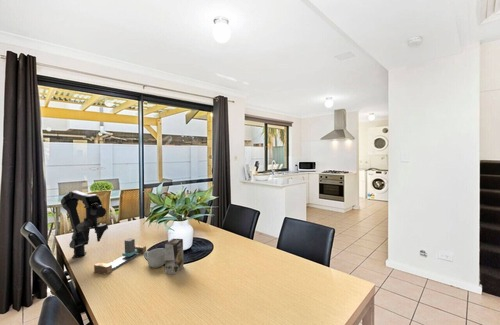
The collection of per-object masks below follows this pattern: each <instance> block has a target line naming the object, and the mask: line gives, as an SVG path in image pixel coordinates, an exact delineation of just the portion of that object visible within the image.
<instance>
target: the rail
mask: <svg viewBox="0 0 500 325" xmlns="http://www.w3.org/2000/svg"><path fill="white" fill-rule="evenodd" d="M135 249H136V250H137V253H135V254H133V255H131V256H130V257H127V256H120V257H118V258H117V259H114V260H113V261H111V262H109V263H105V262H97V263H95V264H93V265H94V266H93V269H94V270H93V272H94V273H95V274H97V273H98V274H103V275H109V274H110V273H113V271H114V270H116V269H118V268H120V267H121V266H123V265H124V264H126V263H129V261H132V260H133V259H135V258H137V257H139V256H141V255H144V252H146V251H147V246H146V245H140V244H135Z"/></svg>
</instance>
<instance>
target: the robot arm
mask: <svg viewBox="0 0 500 325" xmlns="http://www.w3.org/2000/svg"><path fill="white" fill-rule="evenodd" d="M79 201H81V203H82V204H83V205H84V207H83V209H84V208H85V217H84V218H83V221H81V220H80V216H79V213H78V210H77V208H78V206H79ZM60 205H61V206H62V209H64V210H65V211H67V214H68V218H69V221H70V225H71V227H72V228H71V229H72V235H71V240H70V242H69V248H70V249H73V255H72V256H71V258H72V259H73V258H81V257H85V256H86V255H87V251H86V249H85V248H86V247H85V246H86V245H89V241H90V230H91V229H92V230H93V229H94V233H95V234H96V241H97V243H98V242H100V241H101V239H102V237H103V235H104V233H105V231H107V230H108V229H109V225H108V224H106V223H101V224H100V222H98V219H99V218H103V217H104V216H106V214H107V209H106V208H105V207H104V206H103V203H102V200H101V199H100V198H99V195H98V194H96V193H91V194H90V193H86V192H82V191H80V190H71V191H69V192H68V193H67V194H65V195H64V196H62V198H61V199H60Z"/></svg>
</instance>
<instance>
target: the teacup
mask: <svg viewBox="0 0 500 325" xmlns="http://www.w3.org/2000/svg"><path fill="white" fill-rule="evenodd" d="M143 257H144V259H146V261H147V264H148V266H149V267H151V268H153V269H155V268H161V267H162V266H163V265H164V266H165V247H164V248H162V247H161V248H159V247H157V248H154V249H151V250H149V251H148V250H146V252H144V254H143Z"/></svg>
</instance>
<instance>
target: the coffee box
mask: <svg viewBox="0 0 500 325" xmlns="http://www.w3.org/2000/svg"><path fill="white" fill-rule="evenodd" d="M164 249H165V264H164V267H165V269H164V270H165V274H170V275H177V273H178V272H180V271H181V270H182V269H183V268H184V238H172V239H171V240H169V241H167V242H165V244H164Z"/></svg>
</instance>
